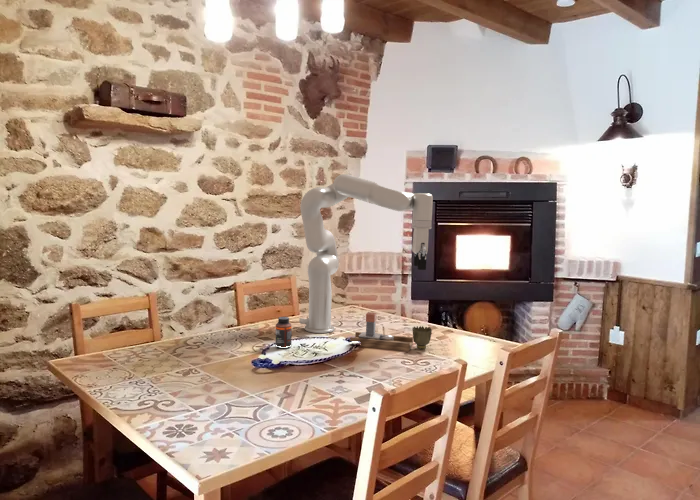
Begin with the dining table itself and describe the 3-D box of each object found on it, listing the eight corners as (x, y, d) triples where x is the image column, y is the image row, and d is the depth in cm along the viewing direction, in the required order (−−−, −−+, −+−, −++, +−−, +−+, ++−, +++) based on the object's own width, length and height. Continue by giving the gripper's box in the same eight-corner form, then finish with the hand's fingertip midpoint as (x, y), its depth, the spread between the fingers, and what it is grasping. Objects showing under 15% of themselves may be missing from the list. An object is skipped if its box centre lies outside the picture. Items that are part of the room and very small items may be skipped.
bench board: (349, 345, 216) (349, 338, 216) (356, 338, 226) (356, 331, 225) (408, 351, 210) (409, 343, 210) (412, 344, 220) (413, 337, 220)
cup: (432, 351, 210) (433, 331, 209) (412, 351, 211) (413, 330, 210) (429, 346, 218) (430, 326, 217) (410, 345, 218) (411, 325, 217)
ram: (358, 340, 217) (359, 314, 216) (362, 336, 223) (363, 310, 222) (391, 344, 214) (392, 317, 213) (394, 340, 220) (395, 313, 218)
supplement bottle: (292, 345, 213) (293, 316, 212) (289, 349, 207) (290, 320, 206) (277, 344, 214) (277, 315, 213) (273, 349, 208) (274, 319, 207)
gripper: (409, 222, 229) (407, 264, 231) (415, 226, 211) (413, 270, 213) (427, 223, 229) (425, 265, 231) (435, 226, 212) (432, 271, 214)
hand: (419, 267), depth 222 cm, fingers open, 9 cm apart
